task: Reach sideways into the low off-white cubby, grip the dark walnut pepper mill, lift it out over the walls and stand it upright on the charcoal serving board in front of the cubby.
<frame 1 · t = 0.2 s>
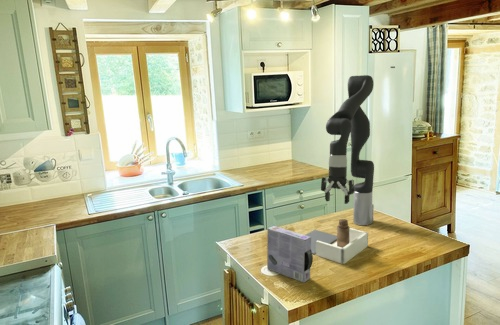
hand: (336, 202, 162), 22 cm above the counter, tool pointing down, fingers open, 8 cm apart
serving board: (314, 243, 173), on the counter
cake pan box: (289, 274, 147), on the counter
cubby: (341, 251, 164), on the counter
pepper mill: (343, 250, 163), point 1 cm above the counter, touching cubby
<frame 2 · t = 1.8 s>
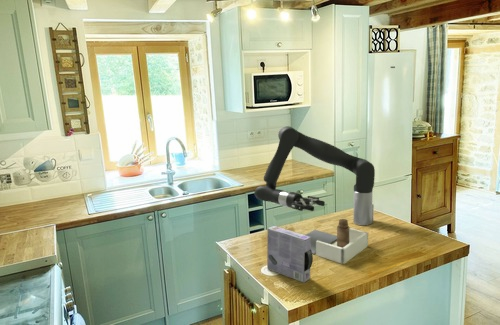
hand: (319, 206, 167), 19 cm above the counter, tool horizontal, fingers open, 8 cm apart
nothing on the counter moved.
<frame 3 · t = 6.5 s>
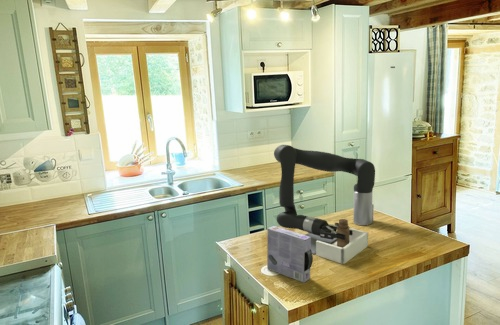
hand: (348, 235, 160), 8 cm above the counter, tool horizontal, fingers closed on pepper mill, 5 cm apart
pepper mill: (343, 250, 163), point 1 cm above the counter, touching cubby, gripper
everything else where it was.
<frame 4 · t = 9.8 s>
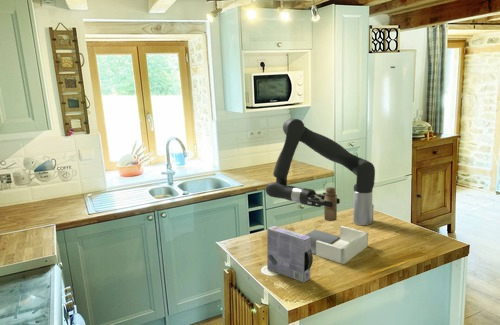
hand: (335, 203, 161), 22 cm above the counter, tool horizontal, fingers closed on pepper mill, 5 cm apart
pepper mill: (330, 219, 164), point 14 cm above the counter, touching gripper
everything else where it was.
when the fingers open (10 cm above the counter, at t = 13.5 s): pepper mill drops 1 cm, resting on serving board.
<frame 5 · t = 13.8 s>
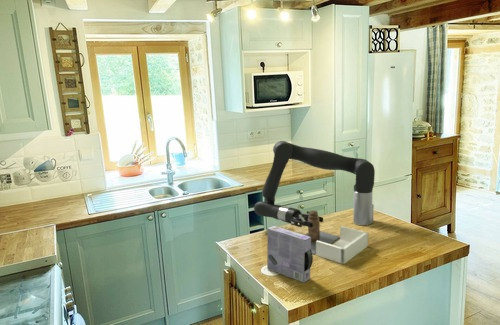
hand: (317, 222, 170), 11 cm above the counter, tool horizontal, fingers open, 7 cm apart
pepper mill: (314, 240, 173), point 1 cm above the counter, touching serving board
everything else where it was.
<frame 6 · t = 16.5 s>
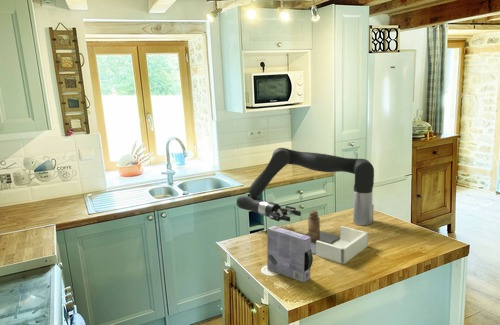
hand: (295, 216, 179), 11 cm above the counter, tool horizontal, fingers open, 8 cm apart
nothing on the counter moved.
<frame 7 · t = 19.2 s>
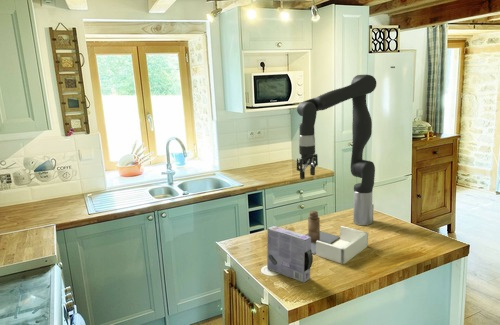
hand: (307, 177, 181), 28 cm above the counter, tool pointing down, fingers open, 8 cm apart
nothing on the counter moved.
at the end: pepper mill inside the target area on the serving board (0.1 cm from its centre), point 1.2 cm above the serving board's base; pepper mill tilted 0°; the gripper is holding nothing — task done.
